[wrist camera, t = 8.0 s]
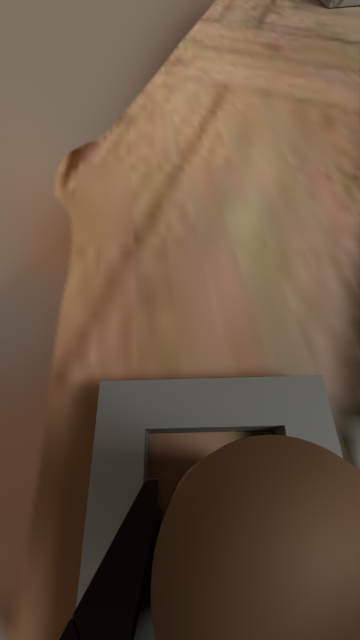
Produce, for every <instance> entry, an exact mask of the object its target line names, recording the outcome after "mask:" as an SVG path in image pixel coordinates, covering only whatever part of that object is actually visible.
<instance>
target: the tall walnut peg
mask: <svg viewBox="0 0 360 640" xmlns="http://www.w3.org/2000/svg"><path fill="white" fill-rule="evenodd" d="M151 612H152V621H153V629H154V636H155V640H360V471H359V470H358V469H357V468H355V467H354V466H353V465H351V464H350V463H349V462H347V461H346V460H345V459H343V458H342V457H340V456H338V455H337V454H335V453H333V452H332V451H330V450H328V449H326V448H324V447H322V446H319V445H317V444H315V443H313V442H309V441H306V440H303V439H300V438H296V437H290V436H284V435H259V436H251V437H247V438H243V439H239V440H236V441H234V442H232V443H229V444H227V445H224V446H223V447H221V448H219V449H218V450H216V451H214V452H213V453H211V454H209V455H208V456H207V457H205V458H204V459H202V460H201V461H199V462H198V463H196V464H195V465H193V466H192V467H191V468H190V469H188V471H187V472H186V473H185V474H184V475H183V477H182V478H181V479H180V481H179V483H178V485H177V487H176V490H175V492H174V494H173V497H172V499H171V502H170V504H169V506H168V509H167V511H166V514H165V516H164V519H163V521H162V524H161V527H160V531H159V534H158V538H157V542H156V546H155V552H154V558H153V564H152V577H151Z"/></svg>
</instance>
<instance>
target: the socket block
mask: <svg viewBox="0 0 360 640" xmlns="http://www.w3.org/2000/svg"><path fill="white" fill-rule="evenodd" d="M264 430H274V435H284V436H290V437H296V438H300V439H303V440H306V441H309V442H313V443H315V444H317V445H319V446H322V447H324V448H326V449H328V450H330V451H332V452H333V453H335V454H337V455H338V456H340V457H342V458H343V456H342V452H341V448H340V444H339V440H338V436H337V432H336V428H335V424H334V420H333V417H332V413H331V409H330V405H329V401H328V397H327V393H326V389H325V385H324V381H323V377H322V375H317V376H277V377H237V378H197V379H157V380H117V381H100V387H99V396H98V405H97V415H96V424H95V434H94V443H93V452H92V462H91V471H90V480H89V490H88V499H87V509H86V518H85V527H84V537H83V546H82V555H81V565H80V574H79V583H78V593H77V602H76V608H77V606H78V604H79V602H80V600H81V598H82V597H83V595H84V593H85V591H86V589H87V587H88V585H89V584H90V582H91V580H92V578H93V576H94V574H95V572H96V570H97V569H98V567H99V565H100V563H101V561H102V559H103V557H104V556H105V554H106V552H107V550H108V548H109V546H110V544H111V542H112V541H113V539H114V537H115V535H116V533H117V531H118V529H119V528H120V526H121V524H122V522H123V520H124V518H125V516H126V514H127V513H128V511H129V509H130V507H131V505H132V503H133V501H134V500H135V498H136V496H137V494H138V492H139V490H140V488H141V486H142V485H143V483H144V481H145V480H146V479H148V454H149V433H185V432H224V431H264Z"/></svg>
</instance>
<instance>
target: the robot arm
mask: <svg viewBox="0 0 360 640" xmlns="http://www.w3.org/2000/svg"><path fill="white" fill-rule="evenodd" d="M162 521H163V499H162V490H161V482H160V479H159V478H153V479H146V480H145V481H144V483H143V485H142V486H141V488H140V490H139V492H138V494H137V496H136V498H135V500H134V501H133V503H132V505H131V507H130V509H129V511H128V513H127V514H126V516H125V518H124V520H123V522H122V524H121V526H120V528H119V529H118V531H117V533H116V535H115V537H114V539H113V541H112V542H111V544H110V546H109V548H108V550H107V552H106V554H105V556H104V557H103V559H102V561H101V563H100V565H99V567H98V569H97V570H96V572H95V574H94V576H93V578H92V580H91V582H90V584H89V585H88V587H87V589H86V591H85V593H84V595H83V597H82V598H81V600H80V602H79V604H78V606H77V608H76V610H75V612H74V613H73V619H70V621H69V622H68V624H67V626H66V628H65V630H64V632H63V634H62V635H61V637H60V639H59V640H155V636H154V629H153V621H152V612H151V577H152V564H153V558H154V552H155V546H156V542H157V538H158V534H159V531H160V527H161V524H162Z"/></svg>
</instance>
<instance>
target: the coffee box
mask: <svg viewBox="0 0 360 640" xmlns="http://www.w3.org/2000/svg"><path fill="white" fill-rule="evenodd" d="M320 1H321V2H322V3H323V4H324V5H325V6H326V7H327V8H337V7H348V6H358V5H360V0H320Z"/></svg>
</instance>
